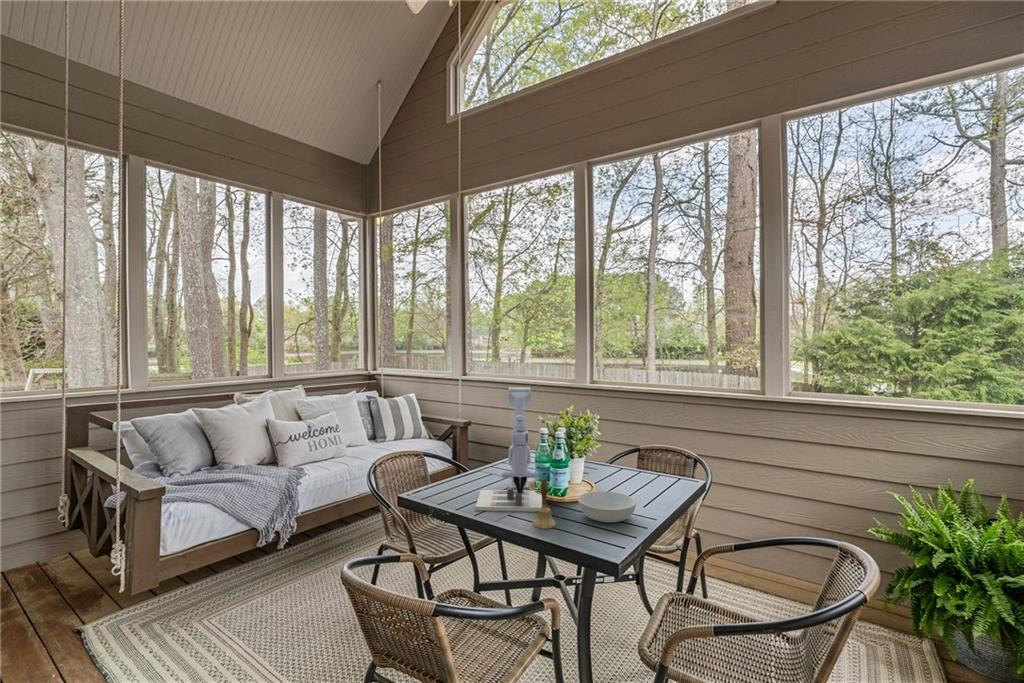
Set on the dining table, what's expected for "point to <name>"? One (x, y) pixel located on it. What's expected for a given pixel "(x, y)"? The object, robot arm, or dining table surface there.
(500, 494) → the panel
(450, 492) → the dining table surface
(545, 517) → the hand bell
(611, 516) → the serving bowl
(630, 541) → the dining table surface
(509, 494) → the breaker
